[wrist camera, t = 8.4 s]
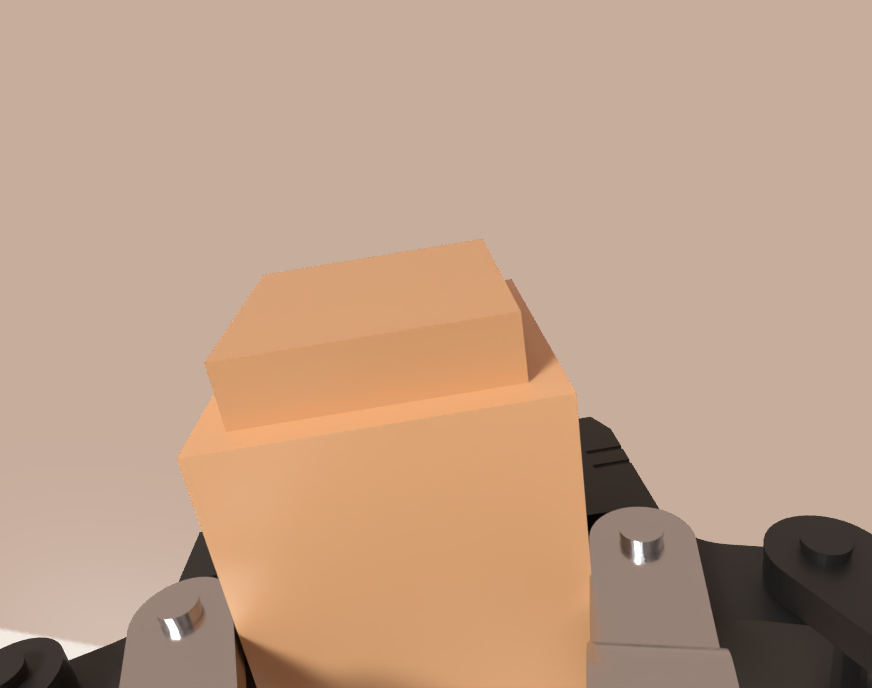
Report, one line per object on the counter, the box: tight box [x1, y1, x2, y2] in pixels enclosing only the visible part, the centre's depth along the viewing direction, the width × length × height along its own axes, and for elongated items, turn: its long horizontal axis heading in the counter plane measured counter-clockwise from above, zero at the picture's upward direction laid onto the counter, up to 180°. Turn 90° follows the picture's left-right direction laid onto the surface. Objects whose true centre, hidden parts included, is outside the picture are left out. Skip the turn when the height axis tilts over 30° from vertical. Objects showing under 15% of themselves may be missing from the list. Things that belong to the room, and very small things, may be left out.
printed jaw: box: [177, 239, 591, 688], centre depth 10 cm, size 4×4×11 cm
